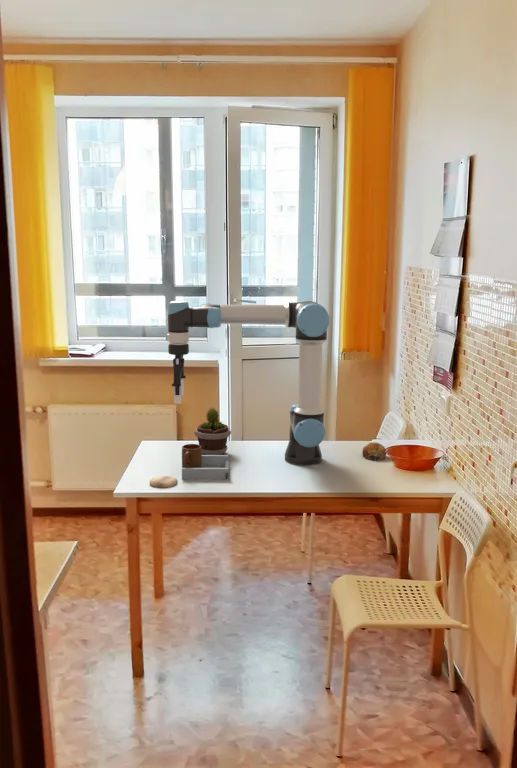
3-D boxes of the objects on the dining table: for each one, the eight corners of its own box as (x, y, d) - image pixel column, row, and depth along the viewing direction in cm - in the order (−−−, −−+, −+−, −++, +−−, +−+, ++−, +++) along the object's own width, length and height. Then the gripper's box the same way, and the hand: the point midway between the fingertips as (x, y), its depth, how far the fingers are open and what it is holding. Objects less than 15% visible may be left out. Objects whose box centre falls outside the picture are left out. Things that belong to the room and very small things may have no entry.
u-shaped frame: (228, 464, 262) (228, 455, 261) (228, 479, 246) (228, 468, 245) (184, 464, 261) (184, 454, 261) (181, 479, 245) (181, 468, 244)
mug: (195, 477, 247) (195, 453, 245) (176, 476, 248) (175, 452, 246) (203, 467, 258) (203, 444, 256) (185, 466, 260) (184, 443, 258)
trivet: (178, 478, 246) (178, 476, 245) (176, 487, 236) (176, 485, 236) (151, 478, 245) (151, 476, 245) (147, 487, 235) (147, 485, 235)
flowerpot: (230, 459, 269) (230, 411, 265) (192, 458, 269) (192, 410, 265) (232, 448, 283) (232, 403, 279) (196, 448, 283) (196, 402, 279)
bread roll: (387, 465, 276) (391, 446, 277) (379, 461, 267) (383, 441, 269) (365, 461, 281) (369, 442, 283) (357, 456, 273) (361, 437, 274)
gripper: (171, 338, 257) (171, 392, 261) (165, 348, 232) (165, 406, 237) (190, 338, 257) (190, 392, 261) (186, 348, 233) (186, 407, 237)
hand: (179, 399), depth 249 cm, fingers open, 13 cm apart
